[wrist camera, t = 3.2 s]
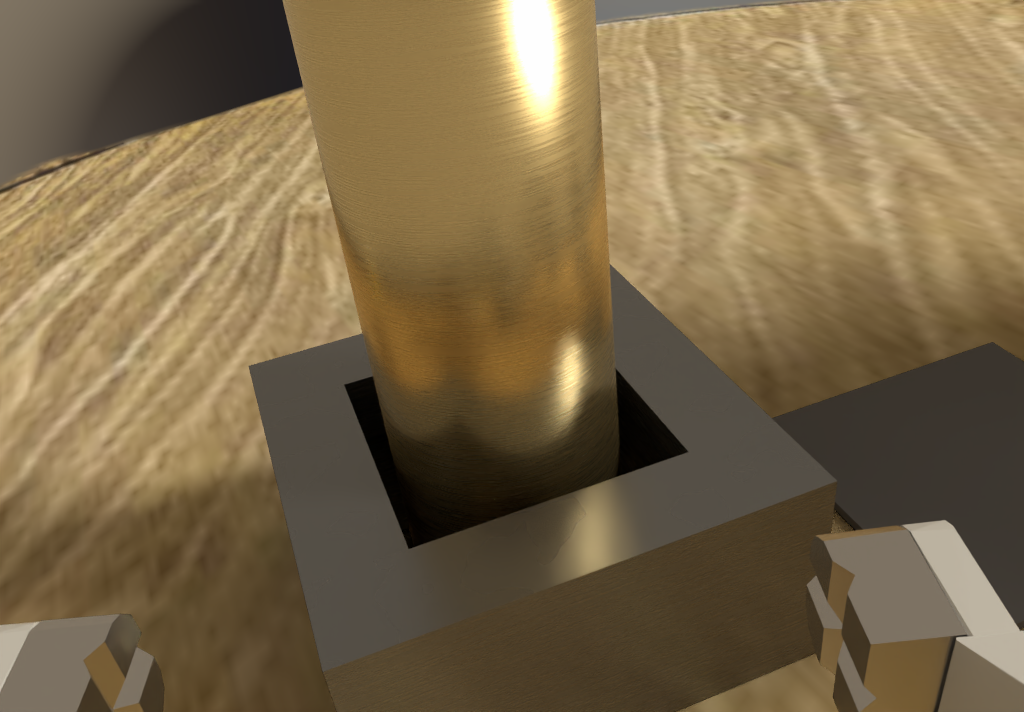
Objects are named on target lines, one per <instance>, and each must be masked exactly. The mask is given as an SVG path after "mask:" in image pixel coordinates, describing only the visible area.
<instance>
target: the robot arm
mask: <svg viewBox="0 0 1024 712" xmlns="http://www.w3.org/2000/svg"><path fill="white" fill-rule="evenodd" d="M809 559H810V561H811V564H812V566H813V568H814V571H815V573H816V576H815V577H814V578H813V579H812V580H811V581H810V582H809V583H808V584H807V588H806V604H805V605H806V614H807V622H808V629H809V632H810V636H811V640H812V643H813V647H814V649H815V652H816V655H817V657H818V660H819V663H820V664H821V665H822V666H823V667H825V668H826V669H827V670H829V671H830V672H831V673H833V674H834V675H835V684H834V692H833V699H834V701H835V704H836V706H837V709H838V711H839V712H1024V630H1023V631H1020V630H1019V628H1018V627H1017V625H1016V623H1015V622H1014V620H1013V619H1012V617H1011V616H1010V614H1009V613H1008V611H1007V609H1006V608H1005V606H1004V605H1003V603H1002V602H1001V600H1000V598H999V597H998V595H997V594H996V592H995V591H994V589H993V587H992V586H991V584H990V583H989V581H988V580H987V578H986V576H985V575H984V573H983V572H982V570H981V569H980V567H979V565H978V564H977V562H976V561H975V559H974V558H973V556H972V554H971V553H970V551H969V550H968V548H967V547H966V545H965V543H964V542H963V540H962V539H961V537H960V536H959V534H958V532H957V531H956V529H955V528H954V526H953V525H951V524H950V523H948V522H947V521H946V520H942V521H933V522H924V523H916V524H907V525H901V526H897V525H896V526H888V527H880V528H872V529H863V530H855V531H847V532H839V533H831V534H823V535H815V537H814V539H813V541H812V543H811V549H810V558H809ZM140 636H141V631H140V629H139V627H138V626H137V624H136V622H135V621H134V619H133V617H132V615H129V614H114V615H103V616H91V617H79V618H68V619H56V620H44V621H39V622H28V623H17V624H6V625H0V712H163V704H164V684H163V679H162V675H161V670H160V668H159V666H158V664H157V662H156V660H155V658H154V657H153V656H152V655H150V654H148V653H146V652H145V651H143V650H141V649H140V648H138V647H137V644H138V641H139V639H140Z"/></svg>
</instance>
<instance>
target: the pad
mask: <svg viewBox="0 0 1024 712" xmlns="http://www.w3.org/2000/svg"><path fill="white" fill-rule="evenodd" d="M772 419H773V420H774V421H775V422H776V423H777V424H778V425H779V426H780V427H781V428H782V429H783V430H784V431H785V432H786V433H788V434H789V435H790V436H791V437H792V438H793V439H794V440H795V441H796V442H797V443H798V444H799V445H800V446H801V447H802V448H803V449H804V450H805V451H806V452H807V453H809V454H810V455H811V456H812V457H813V458H814V459H815V460H816V461H817V462H818V463H819V464H820V465H821V466H822V467H823V468H824V469H825V470H826V471H827V472H828V473H829V474H831V475H832V476H833V477H834V478H835V479H836V480H837V488H836V496H835V505H834V509H835V510H836V511H837V512H838V513H839V514H840V515H841V516H842V517H843V518H844V519H845V520H846V521H847V522H848V523H849V524H850V525H851V526H852V527H853V528H854V529H855V530H863V529H872V528H880V527H888V526H896V525H897V526H901V525H907V524H916V523H924V522H933V521H942V520H946V521H947V522H948V523H950V524H951V525H953V526H954V528H955V529H956V531H957V532H958V534H959V536H960V537H961V539H962V540H963V542H964V543H965V545H966V547H967V548H968V550H969V551H970V553H971V554H972V556H973V558H974V559H975V561H976V562H977V564H978V565H979V567H980V569H981V570H982V572H983V573H984V575H985V576H986V578H987V580H988V581H989V583H990V584H991V586H992V587H993V589H994V591H995V592H996V594H997V595H998V597H999V598H1000V600H1001V602H1002V603H1003V605H1004V606H1005V608H1006V609H1007V611H1008V613H1009V614H1010V616H1011V617H1012V619H1013V620H1014V622H1015V623H1016V625H1017V627H1018V628H1019V629H1021V628H1024V362H1023V361H1022V360H1020V359H1019V358H1017V357H1015V356H1014V355H1012V354H1011V353H1009V352H1007V351H1006V350H1004V349H1003V348H1001V347H1000V346H998V345H996V344H995V343H993V342H991V343H989V344H986V345H983V346H980V347H977V348H974V349H971V350H968V351H965V352H962V353H960V354H957V355H954V356H951V357H948V358H945V359H942V360H939V361H936V362H934V363H931V364H928V365H925V366H922V367H919V368H916V369H913V370H910V371H907V372H905V373H902V374H899V375H896V376H893V377H890V378H887V379H884V380H881V381H879V382H876V383H873V384H870V385H867V386H864V387H861V388H858V389H855V390H852V391H850V392H847V393H844V394H841V395H838V396H835V397H832V398H829V399H826V400H824V401H821V402H818V403H815V404H812V405H809V406H806V407H803V408H800V409H797V410H795V411H792V412H789V413H786V414H783V415H780V416H777V417H774V418H772Z"/></svg>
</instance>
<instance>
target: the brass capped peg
mask: <svg viewBox="0 0 1024 712" xmlns="http://www.w3.org/2000/svg"><path fill="white" fill-rule="evenodd" d="M283 4H284V8H285V12H286V16H287V20H288V25H289V29H290V33H291V37H292V41H293V45H294V49H295V54H296V58H297V62H298V66H299V70H300V75H301V79H302V83H303V87H304V91H305V95H306V100H307V104H308V108H309V112H310V116H311V120H312V125H313V129H314V133H315V137H316V141H317V145H318V150H319V154H320V158H321V162H322V166H323V170H324V175H325V179H326V183H327V187H328V191H329V195H330V200H331V204H332V208H333V212H334V216H335V220H336V225H337V229H338V233H339V237H340V241H341V245H342V250H343V254H344V258H345V262H346V266H347V270H348V275H349V279H350V283H351V287H352V291H353V295H354V300H355V304H356V308H357V312H358V316H359V320H360V325H361V329H362V333H363V337H364V341H365V345H366V350H367V354H368V358H369V362H370V366H371V370H372V375H373V379H374V383H375V387H376V391H377V395H378V400H379V404H380V408H381V412H382V416H383V420H384V425H385V429H386V433H387V437H388V441H389V445H390V450H391V454H392V458H393V462H394V466H395V470H396V475H397V479H398V483H399V487H400V491H401V495H402V500H403V504H404V508H405V512H406V516H407V520H408V525H409V529H410V533H411V537H412V541H413V545H414V547H416V546H419V545H422V544H425V543H428V542H431V541H434V540H436V539H439V538H442V537H445V536H448V535H451V534H454V533H457V532H460V531H462V530H465V529H468V528H471V527H474V526H477V525H480V524H483V523H486V522H488V521H491V520H494V519H497V518H500V517H503V516H506V515H509V514H511V513H514V512H517V511H520V510H523V509H526V508H529V507H532V506H535V505H537V504H540V503H543V502H546V501H549V500H552V499H555V498H558V497H560V496H563V495H566V494H569V493H572V492H575V491H578V490H581V489H584V488H586V487H589V486H592V485H595V484H598V483H601V482H604V481H607V480H609V479H612V478H615V477H618V476H621V458H620V440H619V422H618V405H617V387H616V369H615V352H614V334H613V316H612V298H611V281H610V263H609V245H608V228H607V210H606V192H605V175H604V157H603V139H602V121H601V104H600V86H599V68H598V51H597V33H596V15H595V0H283Z"/></svg>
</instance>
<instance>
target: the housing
mask: <svg viewBox="0 0 1024 712" xmlns="http://www.w3.org/2000/svg"><path fill="white" fill-rule="evenodd" d="M610 281H611V298H612V316H613V334H614V352H615V369H616V387H617V405H618V422H619V440H620V458H621V476H618V477H615V478H612V479H609V480H607V481H604V482H601V483H598V484H595V485H592V486H589V487H586V488H584V489H581V490H578V491H575V492H572V493H569V494H566V495H563V496H560V497H558V498H555V499H552V500H549V501H546V502H543V503H540V504H537V505H535V506H532V507H529V508H526V509H523V510H520V511H517V512H514V513H511V514H509V515H506V516H503V517H500V518H497V519H494V520H491V521H488V522H486V523H483V524H480V525H477V526H474V527H471V528H468V529H465V530H462V531H460V532H457V533H454V534H451V535H448V536H445V537H442V538H439V539H436V540H434V541H431V542H428V543H425V544H422V545H419V546H416V547H413V548H411V549H408V546H407V544H406V541H405V538H404V536H403V533H402V531H401V530H403V529H406V528H409V525H408V520H407V516H406V512H405V508H404V504H403V500H402V495H401V491H400V487H399V483H398V479H397V475H396V470H395V466H394V462H393V458H392V454H391V450H390V445H389V441H388V437H387V433H386V429H385V425H384V420H383V416H382V412H381V408H380V404H379V400H378V395H377V391H376V387H375V383H374V379H373V375H372V370H371V366H370V362H369V358H368V354H367V350H366V345H365V341H364V337H363V334H359V335H356V336H352V337H349V338H345V339H342V340H338V341H335V342H331V343H328V344H324V345H321V346H317V347H314V348H310V349H307V350H303V351H300V352H296V353H293V354H289V355H286V356H282V357H279V358H275V359H272V360H268V361H265V362H261V363H258V364H254V365H251V366H249V369H250V374H251V378H252V382H253V386H254V390H255V394H256V398H257V402H258V407H259V411H260V415H261V419H262V423H263V427H264V431H265V436H266V440H267V444H268V448H269V452H270V456H271V460H272V464H273V469H274V473H275V477H276V481H277V485H278V489H279V493H280V498H281V502H282V506H283V510H284V514H285V518H286V522H287V526H288V531H289V535H290V539H291V543H292V547H293V551H294V555H295V560H296V564H297V568H298V572H299V576H300V580H301V584H302V589H303V593H304V597H305V601H306V605H307V609H308V613H309V617H310V622H311V626H312V630H313V634H314V638H315V642H316V646H317V651H318V655H319V659H320V663H321V667H322V671H323V674H324V677H325V680H326V683H327V685H328V688H329V691H330V694H331V697H332V699H333V702H334V705H335V708H336V711H337V712H676V711H678V710H681V709H683V708H685V707H688V706H690V705H693V704H695V703H697V702H700V701H702V700H705V699H707V698H709V697H712V696H714V695H716V694H719V693H721V692H724V691H726V690H728V689H731V688H733V687H735V686H738V685H740V684H743V683H745V682H747V681H750V680H752V679H754V678H757V677H759V676H762V675H764V674H766V673H769V672H771V671H774V670H776V669H778V668H781V667H783V666H785V665H788V664H790V663H793V662H795V661H797V660H800V659H802V658H804V657H807V656H809V655H812V654H814V653H816V652H815V649H814V647H813V643H812V640H811V636H810V632H809V629H808V622H807V614H806V605H805V604H806V588H807V584H808V583H809V582H810V581H811V580H812V579H813V578H814V577H815V576H816V573H815V571H814V568H813V566H812V564H811V561H810V559H809V558H810V549H811V543H812V541H813V539H814V537H815V535H823V534H831V530H832V521H833V513H834V505H835V496H836V488H837V480H836V479H835V478H834V477H833V476H832V475H831V474H829V473H828V472H827V471H826V470H825V469H824V468H823V467H822V466H821V465H820V464H819V463H818V462H817V461H816V460H815V459H814V458H813V457H812V456H811V455H810V454H809V453H807V452H806V451H805V450H804V449H803V448H802V447H801V446H800V445H799V444H798V443H797V442H796V441H795V440H794V439H793V438H792V437H791V436H790V435H789V434H788V433H786V432H785V431H784V430H783V429H782V428H781V427H780V426H779V425H778V424H777V423H776V422H775V421H774V420H773V419H772V418H771V417H770V416H769V415H768V414H767V413H766V412H764V411H763V410H762V409H761V408H760V407H759V406H758V405H757V404H756V403H755V402H754V401H753V400H752V399H751V398H750V397H749V396H748V395H747V394H746V393H745V392H743V391H742V390H741V389H740V388H739V387H738V386H737V385H736V384H735V383H734V382H733V381H732V380H731V379H730V378H729V377H728V376H727V375H726V374H725V373H724V372H723V371H721V370H720V369H719V368H718V367H717V366H716V365H715V364H714V363H713V362H712V361H711V360H710V359H709V358H708V357H707V356H706V355H705V354H704V353H703V352H702V351H700V350H699V349H698V348H697V347H696V346H695V345H694V344H693V343H692V342H691V341H690V340H689V339H688V338H687V337H686V336H685V335H684V334H683V333H682V332H681V331H680V330H678V329H677V328H676V327H675V326H674V325H673V324H672V323H671V322H670V321H669V320H668V319H667V318H666V317H665V316H664V315H663V314H662V313H661V312H660V311H659V310H657V309H656V308H655V307H654V306H653V305H652V304H651V303H650V302H649V301H648V300H647V299H646V298H645V297H644V296H643V295H642V294H641V293H640V292H639V291H638V290H637V289H635V288H634V287H633V286H632V285H631V284H630V283H629V282H628V281H627V280H626V279H625V278H624V277H623V276H622V275H621V274H620V273H619V272H618V271H617V270H616V269H615V268H613V267H612V266H611V265H610Z"/></svg>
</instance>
